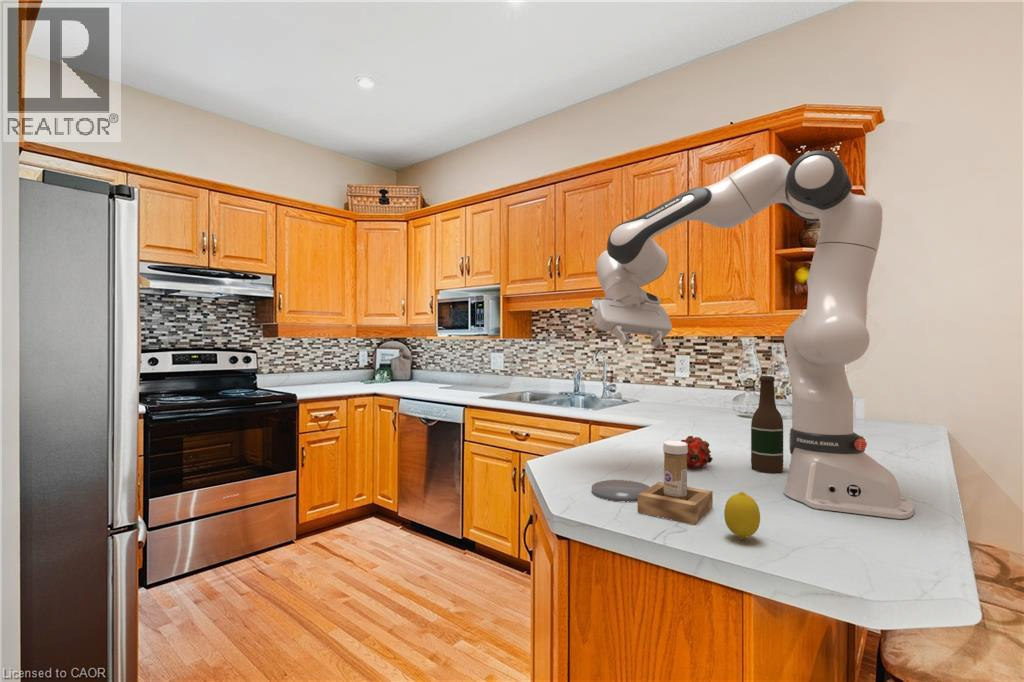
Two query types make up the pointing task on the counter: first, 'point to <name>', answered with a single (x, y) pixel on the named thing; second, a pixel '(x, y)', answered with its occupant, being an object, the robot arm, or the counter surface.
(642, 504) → the frame
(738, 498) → the lemon
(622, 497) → the slate coaster
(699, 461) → the dragon fruit
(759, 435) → the beer bottle
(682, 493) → the sprinkles bottle
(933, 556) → the counter surface
